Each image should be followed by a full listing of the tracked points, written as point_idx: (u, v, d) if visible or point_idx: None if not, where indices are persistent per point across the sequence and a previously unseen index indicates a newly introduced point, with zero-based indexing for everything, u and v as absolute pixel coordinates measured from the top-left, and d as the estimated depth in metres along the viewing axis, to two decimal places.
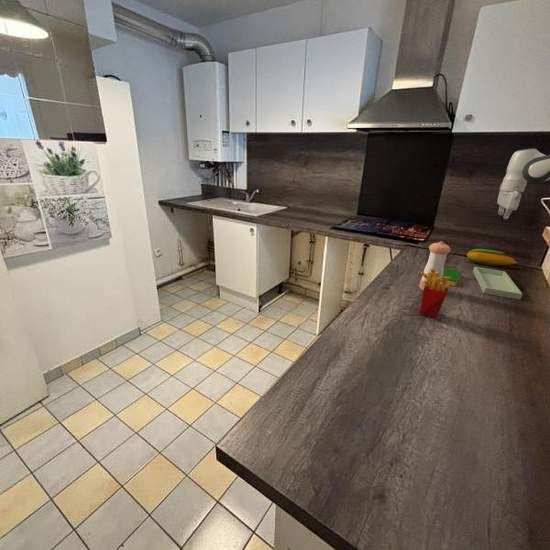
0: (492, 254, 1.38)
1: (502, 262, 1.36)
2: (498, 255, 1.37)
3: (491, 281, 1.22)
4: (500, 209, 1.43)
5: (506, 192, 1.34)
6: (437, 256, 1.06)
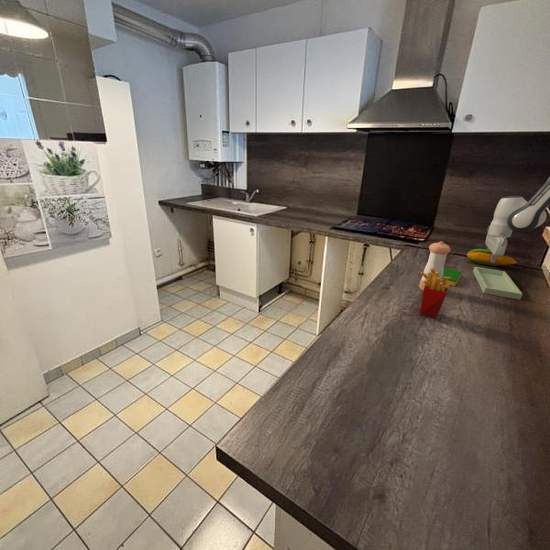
0: None
1: (502, 262, 1.36)
2: None
3: (491, 281, 1.22)
4: None
5: (493, 236, 1.35)
6: (437, 256, 1.06)
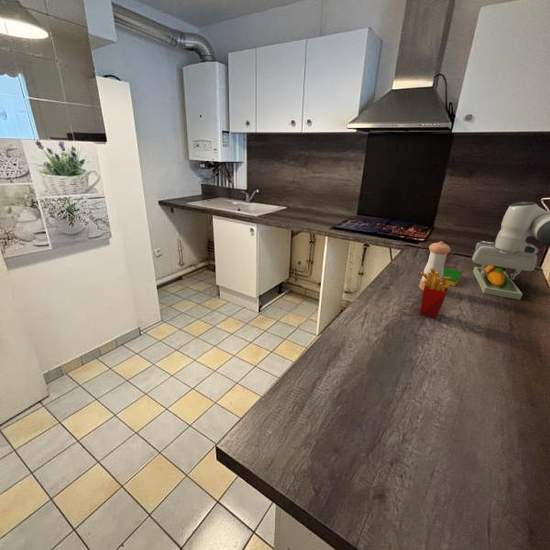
0: (492, 269, 1.19)
1: (489, 279, 1.16)
2: (494, 271, 1.17)
3: None
4: (514, 272, 1.16)
5: None
6: (437, 256, 1.06)
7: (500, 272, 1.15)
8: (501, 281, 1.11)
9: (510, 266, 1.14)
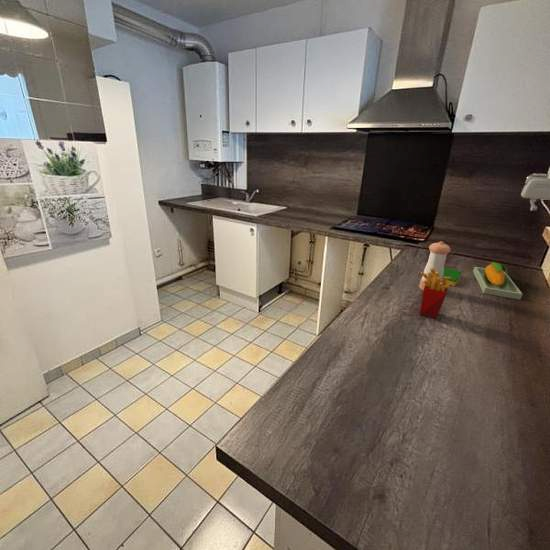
0: (492, 269, 1.19)
1: (489, 279, 1.16)
2: (494, 271, 1.17)
3: None
4: None
5: None
6: (437, 256, 1.06)
7: (500, 272, 1.15)
8: (501, 281, 1.11)
9: None
